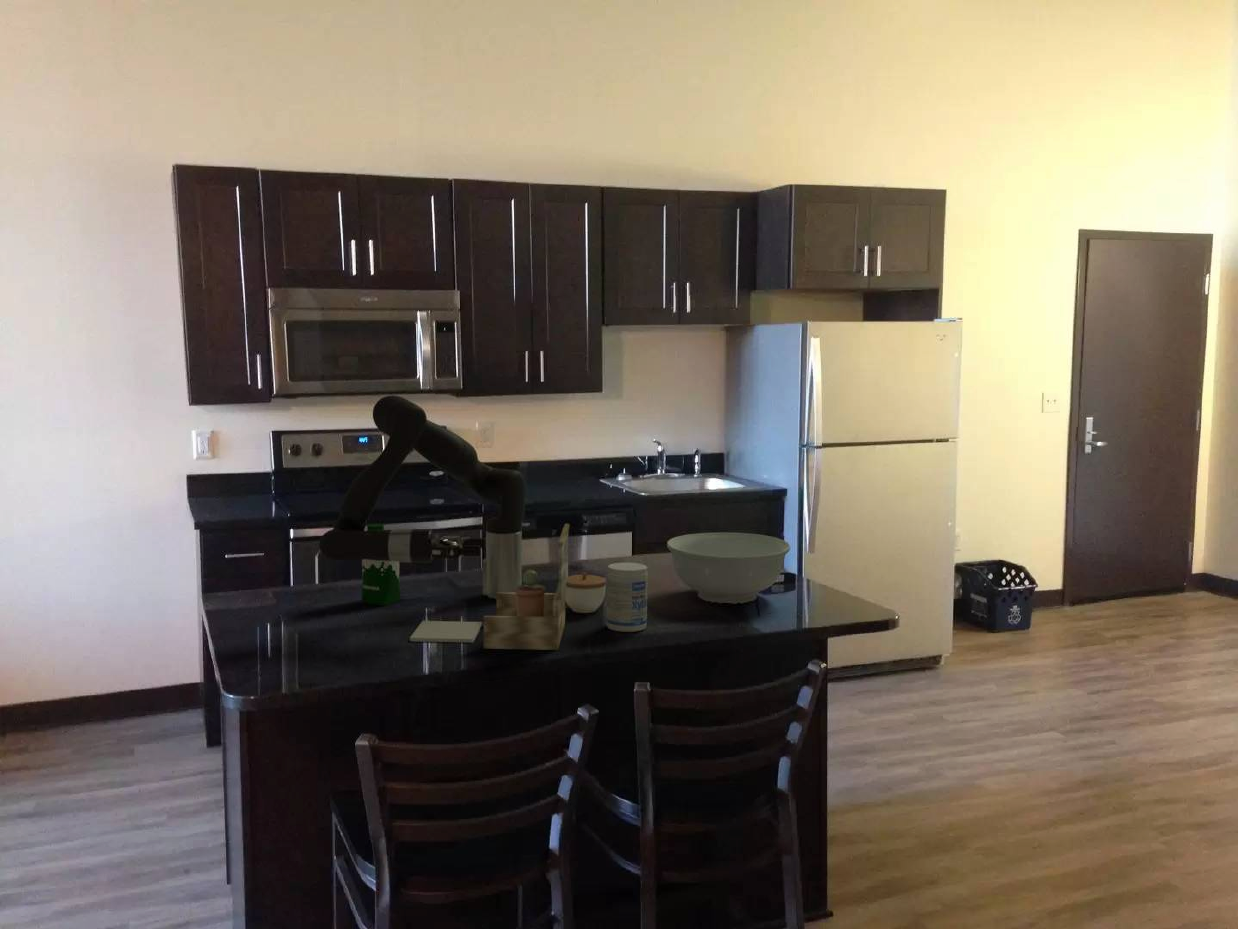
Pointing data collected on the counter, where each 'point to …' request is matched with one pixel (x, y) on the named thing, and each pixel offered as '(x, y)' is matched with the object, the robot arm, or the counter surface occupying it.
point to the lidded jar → (585, 592)
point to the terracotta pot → (530, 596)
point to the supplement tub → (627, 597)
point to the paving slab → (446, 631)
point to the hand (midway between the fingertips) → (483, 547)
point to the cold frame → (527, 629)
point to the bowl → (728, 564)
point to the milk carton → (380, 579)
